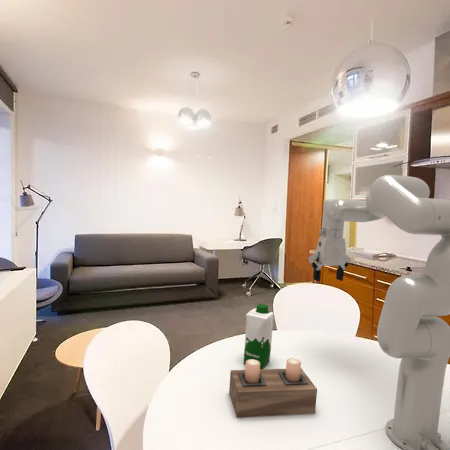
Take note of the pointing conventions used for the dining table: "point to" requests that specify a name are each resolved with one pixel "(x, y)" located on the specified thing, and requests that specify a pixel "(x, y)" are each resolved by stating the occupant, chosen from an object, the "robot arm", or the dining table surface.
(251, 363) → the peg
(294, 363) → the peg
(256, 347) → the milk carton
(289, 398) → the walnut block
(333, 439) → the dining table surface
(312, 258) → the robot arm
